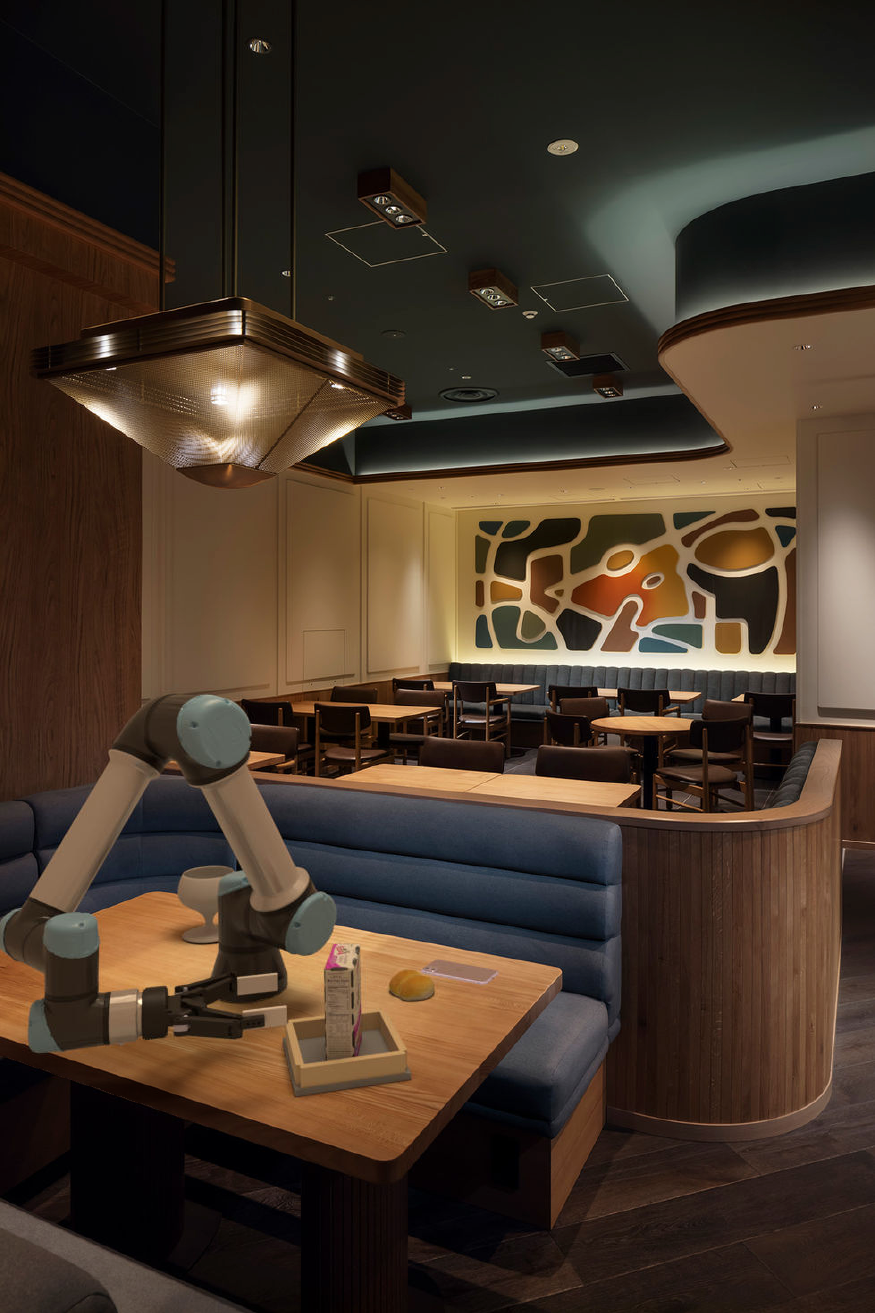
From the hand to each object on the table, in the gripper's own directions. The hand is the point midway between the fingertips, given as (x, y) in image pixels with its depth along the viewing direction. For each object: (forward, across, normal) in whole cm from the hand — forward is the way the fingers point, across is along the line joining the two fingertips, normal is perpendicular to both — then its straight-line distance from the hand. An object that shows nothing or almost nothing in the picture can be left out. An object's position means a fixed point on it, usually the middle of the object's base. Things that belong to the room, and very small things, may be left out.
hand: (282, 997), depth 136 cm
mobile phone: (+40, -30, -12) cm, 51 cm away
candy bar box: (+10, 0, -11) cm, 15 cm away
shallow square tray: (+10, 0, -12) cm, 15 cm away
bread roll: (+28, -24, -12) cm, 38 cm away
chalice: (-10, -69, -12) cm, 71 cm away
